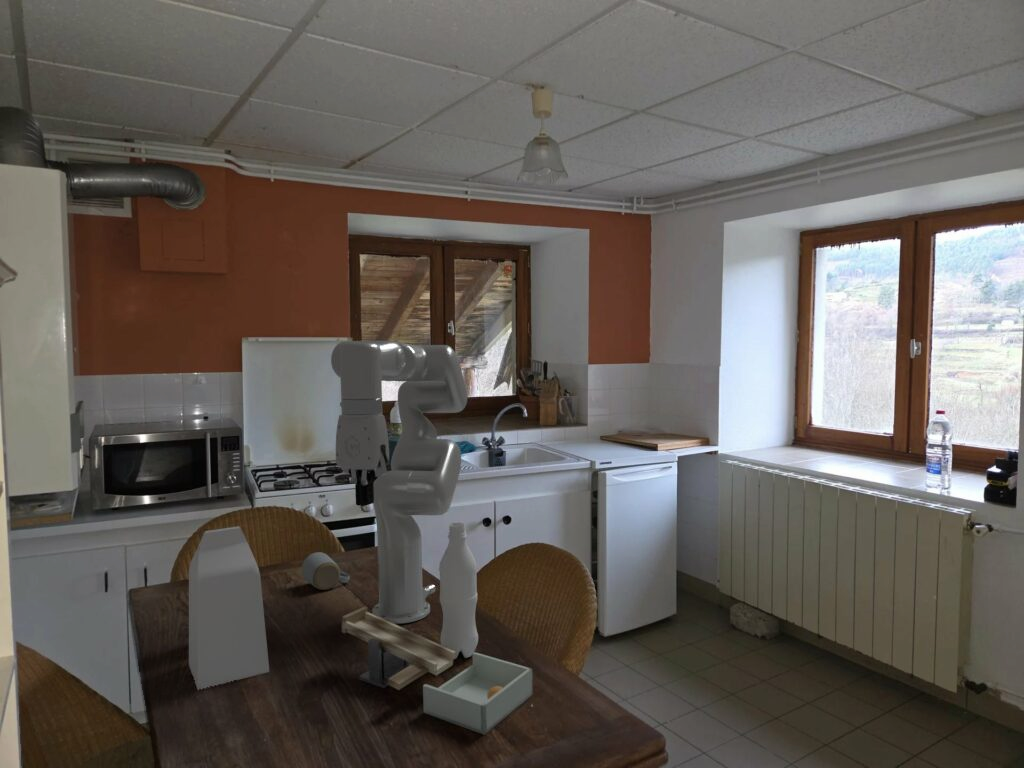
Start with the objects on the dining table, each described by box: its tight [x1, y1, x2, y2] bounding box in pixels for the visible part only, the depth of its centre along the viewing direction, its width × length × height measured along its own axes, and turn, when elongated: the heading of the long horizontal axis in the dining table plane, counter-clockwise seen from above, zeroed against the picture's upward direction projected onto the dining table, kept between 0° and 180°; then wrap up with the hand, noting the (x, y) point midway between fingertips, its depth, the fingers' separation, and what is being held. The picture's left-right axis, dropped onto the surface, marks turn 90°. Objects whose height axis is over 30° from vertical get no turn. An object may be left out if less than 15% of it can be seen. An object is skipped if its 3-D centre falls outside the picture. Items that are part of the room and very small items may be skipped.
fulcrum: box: [358, 625, 412, 689], centre depth 125 cm, size 6×9×7 cm, turn 147°
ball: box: [487, 686, 502, 699], centre depth 112 cm, size 3×3×3 cm
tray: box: [422, 651, 534, 736], centre depth 114 cm, size 14×12×4 cm
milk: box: [188, 525, 270, 691], centre depth 128 cm, size 12×12×26 cm
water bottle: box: [438, 522, 479, 660], centre depth 132 cm, size 7×7×25 cm
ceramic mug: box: [301, 551, 351, 591], centre depth 171 cm, size 11×8×8 cm
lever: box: [341, 606, 456, 691], centre depth 121 cm, size 22×12×3 cm, turn 57°
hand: (364, 504), depth 132 cm, fingers closed
